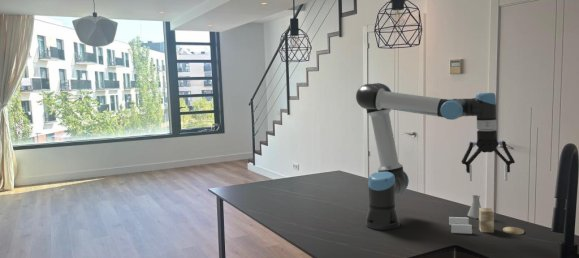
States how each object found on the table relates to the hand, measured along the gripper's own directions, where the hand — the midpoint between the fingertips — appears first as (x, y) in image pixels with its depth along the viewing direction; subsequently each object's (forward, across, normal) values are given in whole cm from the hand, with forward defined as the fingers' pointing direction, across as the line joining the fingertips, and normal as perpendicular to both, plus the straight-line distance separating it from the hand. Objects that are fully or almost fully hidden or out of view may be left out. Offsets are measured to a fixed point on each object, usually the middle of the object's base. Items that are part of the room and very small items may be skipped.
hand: (488, 180), depth 183 cm
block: (+22, -1, 0) cm, 22 cm away
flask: (+22, -3, +20) cm, 29 cm away
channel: (+21, -12, 0) cm, 24 cm away
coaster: (+22, +10, +1) cm, 24 cm away
